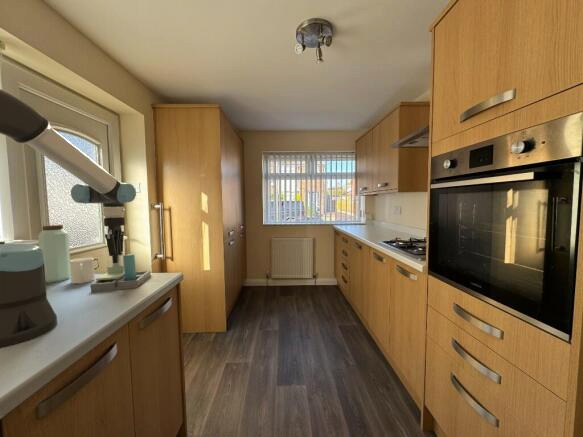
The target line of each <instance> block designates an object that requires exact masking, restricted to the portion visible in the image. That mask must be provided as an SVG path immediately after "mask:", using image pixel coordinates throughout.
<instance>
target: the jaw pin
mask: <svg viewBox="0 0 583 437" xmlns="http://www.w3.org/2000/svg"><path fill="white" fill-rule="evenodd" d="M122 258H123V259H122V260H123V265H124V272H125V281H129V280H137V278H136V272H137V269H136V259H135V253H131V254H130V253H129V254H122Z"/></svg>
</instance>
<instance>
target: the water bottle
mask: <svg viewBox="0 0 583 437" xmlns="http://www.w3.org/2000/svg"><path fill="white" fill-rule="evenodd" d="M37 238H38V239H37V240H38V247H40V248H41V249H42V251H43V255H44V259H45V262H44V266H45V280H46V283H48V284H49V283H57V282H58V283H59V282H62V281H66V280H68V279H69V278H71V270H70V261H71V255H70V254H71V253H70V252H71V251H70V242H69V241H70V239H69V238H70V236H69V232H68V231H66V230H65V229H64V224H53V225H51V224H50V225H42V230H41V232H39V233H38V235H37Z"/></svg>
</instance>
